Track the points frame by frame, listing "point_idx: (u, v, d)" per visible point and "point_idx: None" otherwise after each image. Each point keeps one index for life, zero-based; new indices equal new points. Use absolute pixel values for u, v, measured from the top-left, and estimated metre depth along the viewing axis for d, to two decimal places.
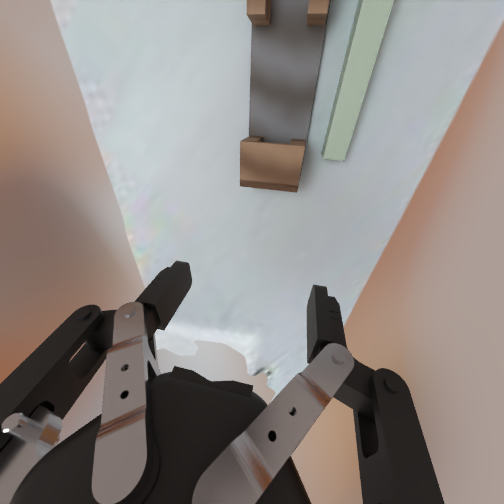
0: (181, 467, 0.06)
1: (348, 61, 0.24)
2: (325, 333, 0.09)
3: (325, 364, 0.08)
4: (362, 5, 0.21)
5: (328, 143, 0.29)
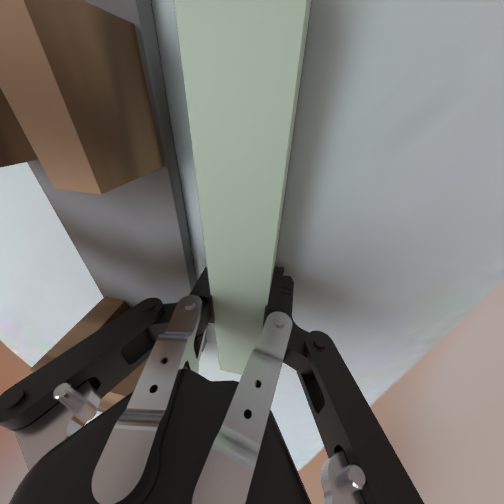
0: (181, 467, 0.06)
1: (209, 269, 0.10)
2: (273, 304, 0.11)
3: (266, 327, 0.09)
4: (198, 175, 0.07)
5: (221, 357, 0.15)
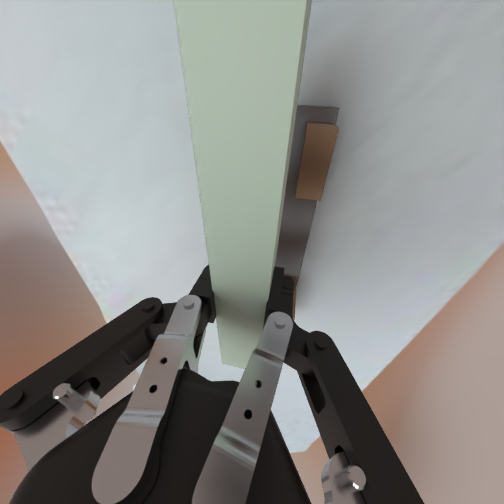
0: (181, 467, 0.06)
1: (211, 268, 0.10)
2: (273, 304, 0.10)
3: (267, 327, 0.09)
4: (200, 179, 0.07)
5: (223, 352, 0.15)
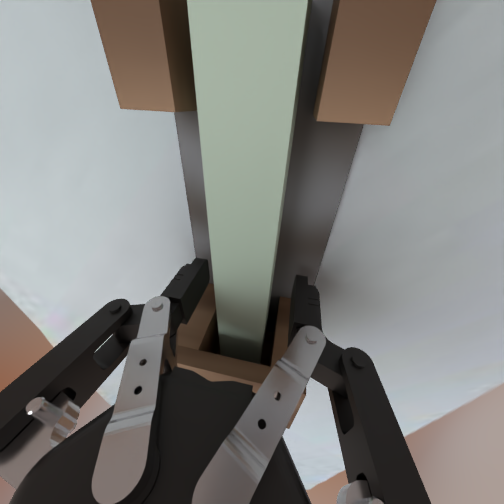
0: (181, 467, 0.06)
1: (214, 262, 0.10)
2: (302, 317, 0.10)
3: (298, 343, 0.09)
4: (206, 172, 0.08)
5: (223, 352, 0.15)
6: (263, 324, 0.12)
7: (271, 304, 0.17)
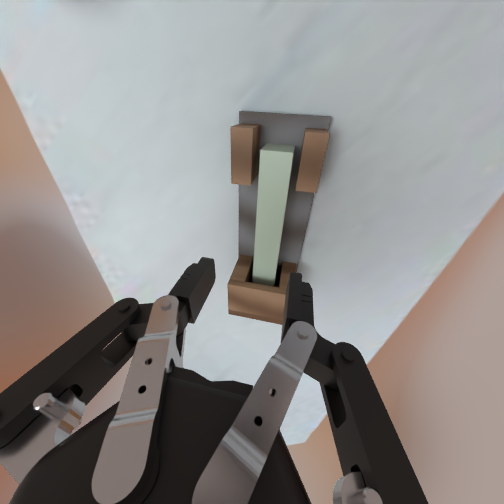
0: (181, 468, 0.06)
1: (255, 238, 0.24)
2: (294, 313, 0.10)
3: (290, 338, 0.09)
4: (257, 203, 0.22)
5: None
6: (275, 268, 0.26)
7: (278, 266, 0.31)
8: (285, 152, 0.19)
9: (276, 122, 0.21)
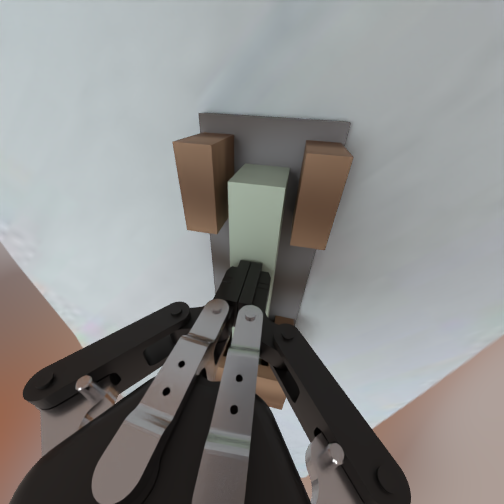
0: (181, 467, 0.06)
1: None
2: (246, 298, 0.11)
3: (236, 320, 0.10)
4: (231, 259, 0.14)
5: None
6: None
7: None
8: (271, 186, 0.11)
9: (259, 131, 0.13)
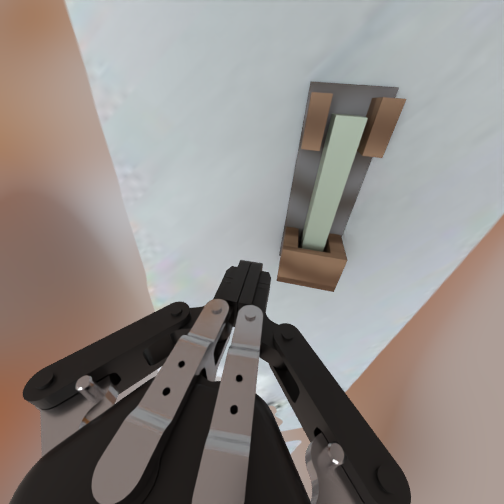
0: (181, 468, 0.06)
1: (314, 204, 0.26)
2: (246, 298, 0.11)
3: (236, 320, 0.10)
4: (322, 169, 0.24)
5: None
6: (327, 236, 0.28)
7: None
8: (359, 117, 0.20)
9: (345, 92, 0.22)
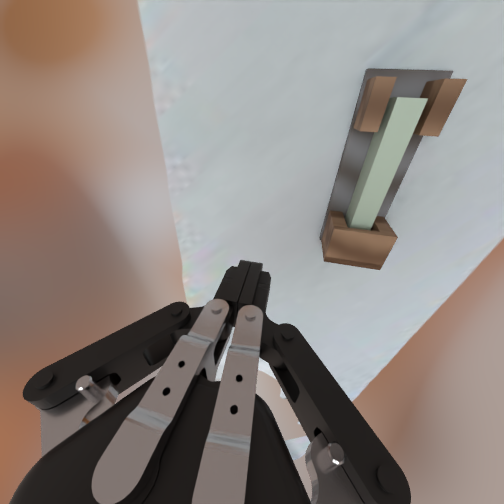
0: (181, 468, 0.06)
1: (366, 185, 0.28)
2: (246, 298, 0.11)
3: (236, 320, 0.10)
4: (378, 150, 0.25)
5: None
6: (376, 215, 0.30)
7: None
8: (420, 98, 0.22)
9: (400, 77, 0.24)
